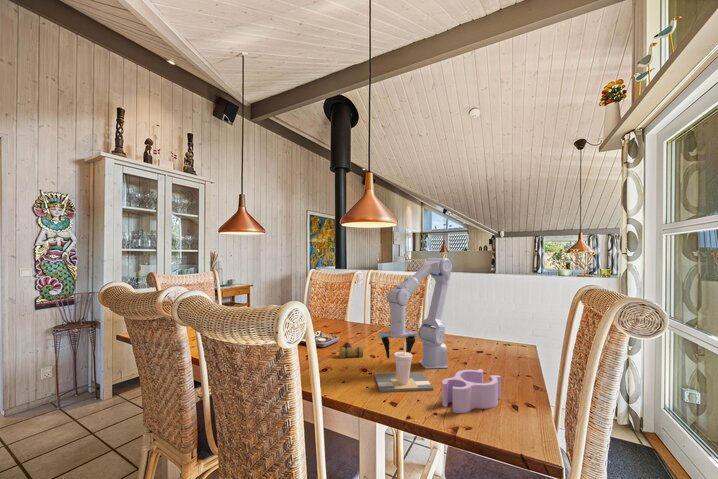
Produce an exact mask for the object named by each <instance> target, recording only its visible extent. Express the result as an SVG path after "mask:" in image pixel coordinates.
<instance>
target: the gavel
mask: <svg viewBox="0 0 718 479" xmlns="http://www.w3.org/2000/svg"><path fill="white" fill-rule="evenodd" d="M339 357H340V359H345V358H357V357H358V358H363V357H364V347H363V346H362V345H361V346H357V347H355V346H354V347H352V345H351V343H349V342H348V341H346V342H345V343H344V346H343V347H342V346H341V347H339Z"/></svg>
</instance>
